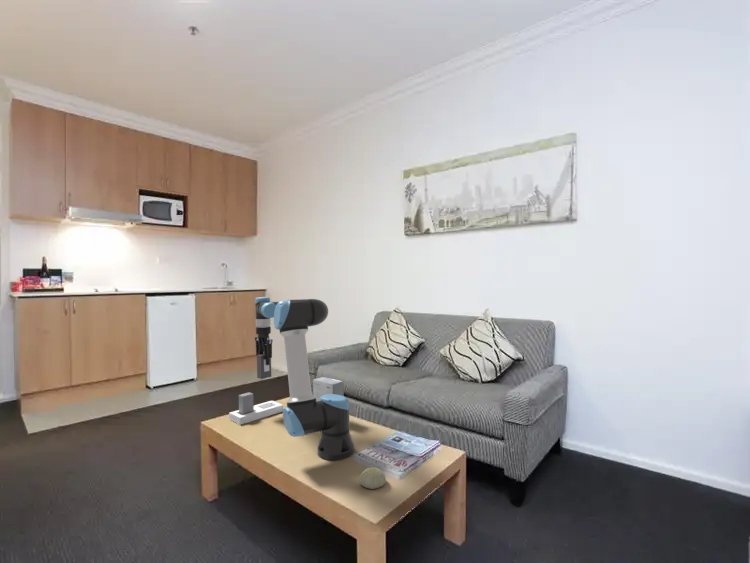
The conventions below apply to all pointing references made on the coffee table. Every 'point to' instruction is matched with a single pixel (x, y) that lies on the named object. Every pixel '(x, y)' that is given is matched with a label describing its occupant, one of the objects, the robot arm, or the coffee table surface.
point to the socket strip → (257, 412)
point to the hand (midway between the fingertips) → (264, 370)
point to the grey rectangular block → (262, 367)
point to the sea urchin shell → (372, 478)
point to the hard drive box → (327, 387)
